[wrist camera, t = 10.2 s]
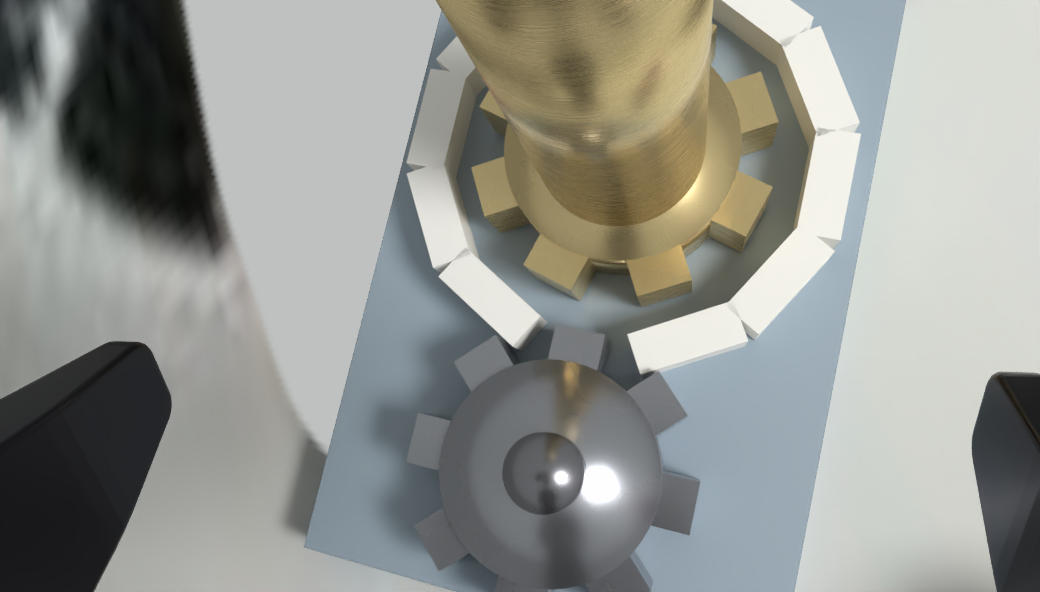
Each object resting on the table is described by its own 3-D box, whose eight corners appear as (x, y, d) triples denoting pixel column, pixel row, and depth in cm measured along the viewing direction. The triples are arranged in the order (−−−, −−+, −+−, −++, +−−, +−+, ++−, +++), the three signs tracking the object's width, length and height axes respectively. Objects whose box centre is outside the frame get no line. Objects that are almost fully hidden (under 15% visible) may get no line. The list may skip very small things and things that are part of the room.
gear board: (772, 673, 21) (782, 699, 19) (319, 542, 23) (282, 553, 21) (897, 15, 23) (919, -29, 21) (467, -38, 25) (446, -82, 23)
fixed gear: (664, 647, 20) (662, 674, 18) (397, 570, 22) (363, 585, 19) (722, 365, 21) (727, 356, 19) (461, 309, 23) (435, 294, 20)
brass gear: (809, 257, 21) (983, -1, 8) (530, 340, 22) (317, 219, 10) (719, 0, 23) (755, -547, 10) (461, 89, 24) (197, -305, 11)
